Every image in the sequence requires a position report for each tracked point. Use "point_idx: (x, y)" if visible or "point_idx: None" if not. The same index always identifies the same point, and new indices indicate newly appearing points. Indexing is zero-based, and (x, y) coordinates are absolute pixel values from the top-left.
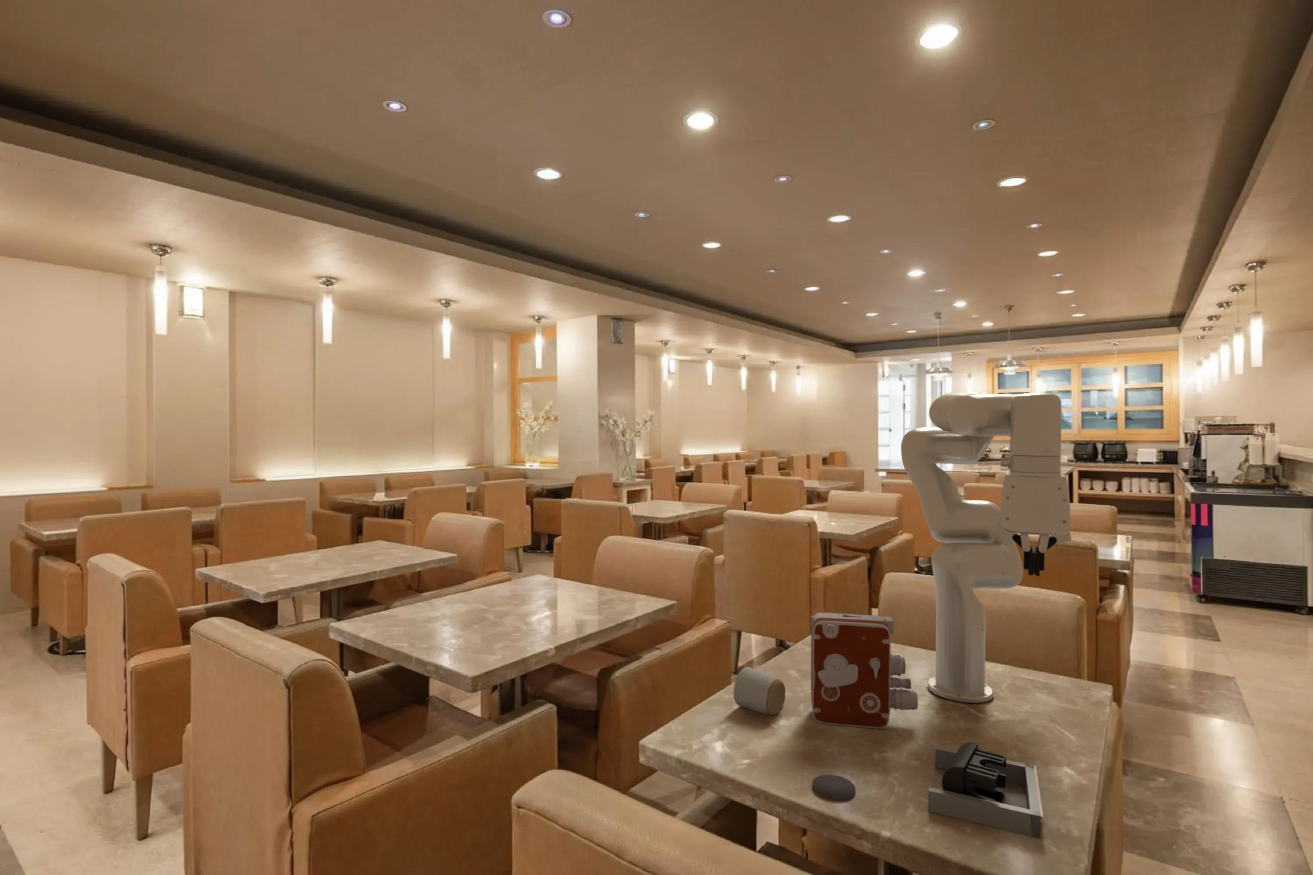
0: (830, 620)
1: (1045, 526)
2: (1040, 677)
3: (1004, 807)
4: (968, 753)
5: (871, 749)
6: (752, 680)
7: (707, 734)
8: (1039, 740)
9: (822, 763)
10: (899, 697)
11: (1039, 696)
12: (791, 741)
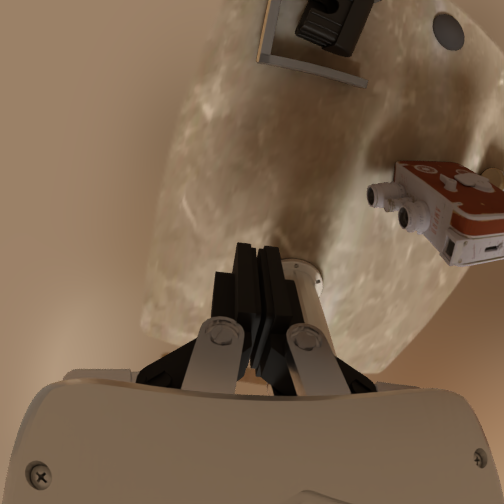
0: None
1: (207, 458)
2: None
3: None
4: (351, 14)
5: (415, 110)
6: None
7: None
8: (223, 180)
9: (456, 77)
10: (394, 187)
11: (201, 298)
12: (475, 120)
